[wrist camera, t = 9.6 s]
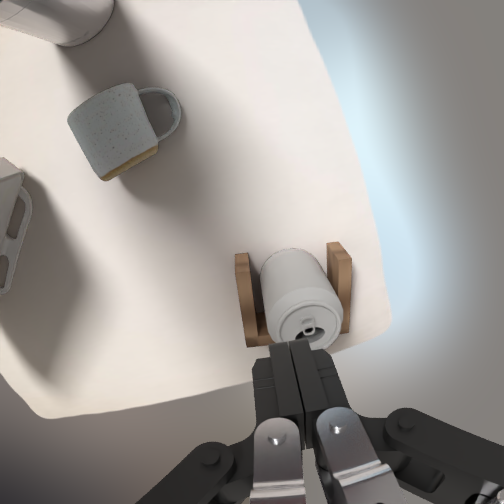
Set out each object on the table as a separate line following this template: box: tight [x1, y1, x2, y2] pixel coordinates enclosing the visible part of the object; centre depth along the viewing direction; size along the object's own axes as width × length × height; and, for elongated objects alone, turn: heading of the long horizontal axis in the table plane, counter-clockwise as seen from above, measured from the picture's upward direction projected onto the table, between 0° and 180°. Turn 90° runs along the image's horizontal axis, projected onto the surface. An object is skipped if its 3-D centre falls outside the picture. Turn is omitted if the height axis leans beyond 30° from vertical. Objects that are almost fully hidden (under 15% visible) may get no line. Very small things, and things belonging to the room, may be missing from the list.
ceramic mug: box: [67, 83, 181, 181], centre depth 28 cm, size 11×8×8 cm
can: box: [260, 248, 343, 350], centre depth 34 cm, size 8×8×12 cm
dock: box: [235, 242, 352, 348], centre depth 38 cm, size 10×12×5 cm
